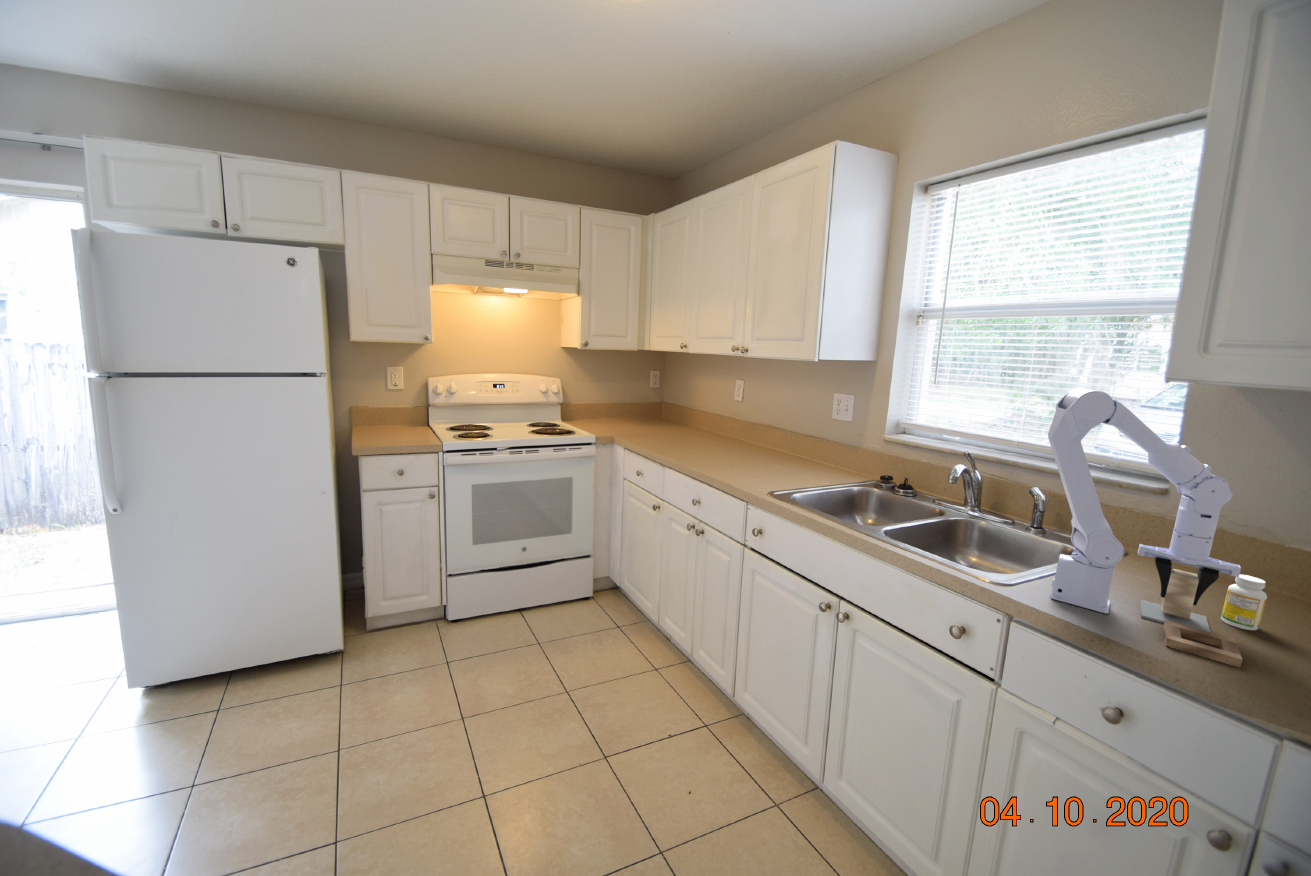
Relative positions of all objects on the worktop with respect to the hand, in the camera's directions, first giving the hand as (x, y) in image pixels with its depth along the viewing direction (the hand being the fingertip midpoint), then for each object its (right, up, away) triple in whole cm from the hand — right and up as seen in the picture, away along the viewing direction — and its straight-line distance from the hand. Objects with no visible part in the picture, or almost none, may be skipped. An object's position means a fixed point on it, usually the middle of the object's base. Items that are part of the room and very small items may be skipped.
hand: (1177, 599), depth 112 cm
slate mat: (0, -4, +1) cm, 4 cm away
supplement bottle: (+12, -5, 0) cm, 13 cm away
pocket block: (-6, -5, -10) cm, 13 cm away
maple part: (0, -3, 0) cm, 3 cm away
